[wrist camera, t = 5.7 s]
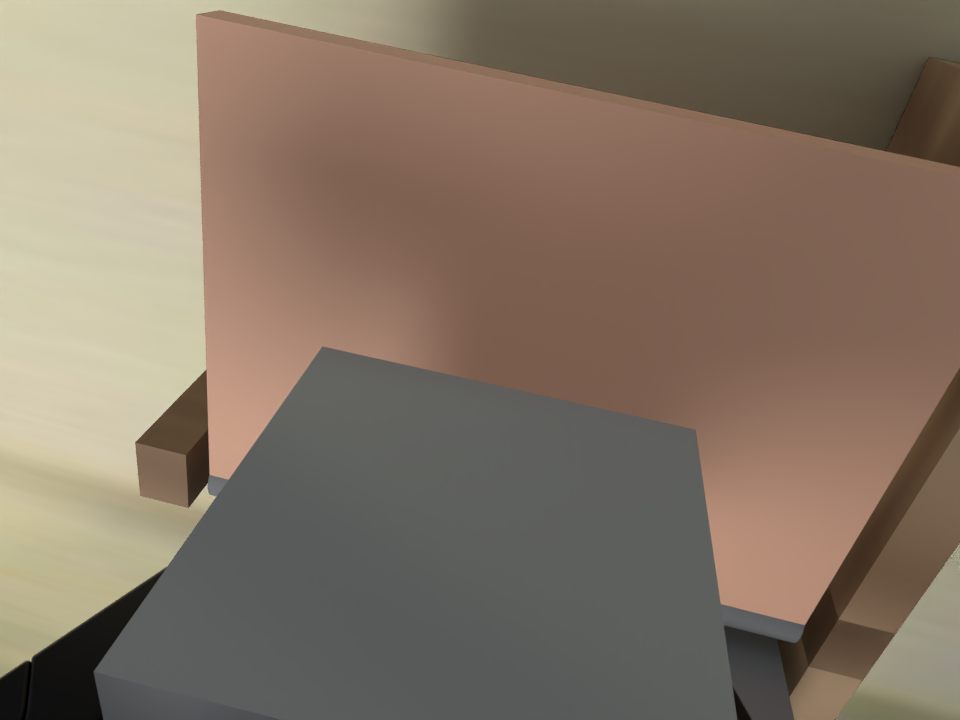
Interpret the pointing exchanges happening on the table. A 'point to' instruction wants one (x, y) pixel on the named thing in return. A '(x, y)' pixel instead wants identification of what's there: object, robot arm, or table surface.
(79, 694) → the robot arm
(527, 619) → the slate block
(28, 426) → the table surface
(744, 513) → the trapdoor
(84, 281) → the table surface
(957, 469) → the frame
